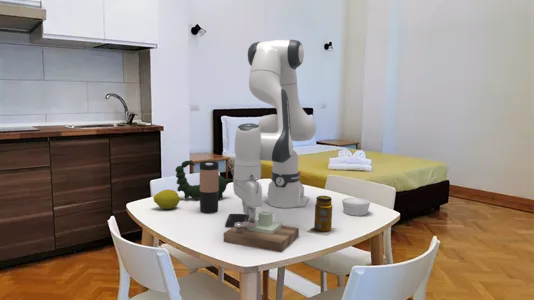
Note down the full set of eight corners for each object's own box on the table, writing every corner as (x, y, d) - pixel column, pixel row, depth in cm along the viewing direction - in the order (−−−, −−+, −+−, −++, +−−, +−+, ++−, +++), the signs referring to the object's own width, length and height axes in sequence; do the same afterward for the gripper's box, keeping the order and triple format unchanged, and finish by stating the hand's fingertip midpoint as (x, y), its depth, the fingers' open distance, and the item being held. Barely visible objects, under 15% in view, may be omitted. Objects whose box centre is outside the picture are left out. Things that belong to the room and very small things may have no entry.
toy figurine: (178, 206, 182) (235, 199, 186) (173, 163, 180) (231, 158, 183) (179, 200, 192) (233, 194, 195) (175, 160, 189) (230, 155, 193)
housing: (246, 227, 149) (246, 215, 149) (298, 236, 141) (299, 223, 141) (223, 241, 135) (223, 228, 134) (280, 252, 127) (281, 238, 126)
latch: (236, 228, 133) (236, 211, 133) (233, 226, 136) (233, 208, 135) (257, 226, 136) (258, 209, 135) (255, 223, 139) (255, 207, 138)
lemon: (181, 206, 176) (181, 187, 175) (179, 211, 168) (179, 192, 167) (155, 206, 175) (155, 187, 174) (152, 211, 167) (151, 192, 166)
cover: (258, 222, 146) (259, 208, 145) (282, 226, 142) (283, 211, 141) (247, 230, 138) (247, 214, 137) (272, 234, 134) (272, 218, 133)
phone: (249, 214, 164) (246, 226, 149) (249, 216, 164) (246, 229, 149) (229, 213, 164) (224, 225, 149) (229, 216, 164) (224, 228, 149)
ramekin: (341, 208, 178) (342, 196, 177) (368, 210, 176) (369, 198, 175) (341, 216, 167) (342, 203, 166) (370, 218, 165) (371, 205, 164)
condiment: (335, 228, 150) (336, 196, 149) (326, 235, 143) (328, 201, 141) (316, 225, 154) (317, 193, 152) (307, 232, 146) (308, 198, 145)
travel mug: (208, 207, 175) (208, 160, 172) (222, 210, 170) (222, 162, 168) (195, 211, 169) (195, 162, 166) (209, 215, 164) (209, 164, 162)
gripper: (267, 178, 129) (266, 221, 131) (247, 167, 148) (246, 205, 150) (248, 179, 127) (247, 223, 129) (230, 168, 146) (229, 206, 148)
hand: (247, 213), depth 139 cm, fingers closed
